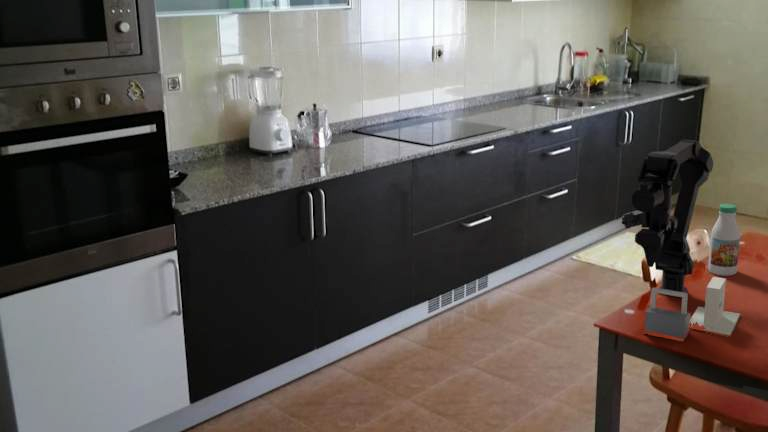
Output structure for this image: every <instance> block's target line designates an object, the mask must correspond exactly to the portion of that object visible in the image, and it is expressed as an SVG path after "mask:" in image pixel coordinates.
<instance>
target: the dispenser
mask: <svg viewBox="0 0 768 432" xmlns="http://www.w3.org/2000/svg"><path fill="white" fill-rule="evenodd" d="M650 291H651V292H650V302H649V303H650V304H649V305H650V306H649V307H648V308H647V309H646V311H645V320H644V321H645V322H644V331H645V330H646V331H651V332H655V333H660V334H665V335H669V336H673V337H677V338H681V339H684V337H685V335H686V334H687V332H688V331H689V332H690V329H689V323H690V320H691V313H690V312H687V310H688V297H689V296H688V295H689V294H688V292H678V291H672V290H666V289H660V287H652V288H651V290H650ZM657 294H661V295H666V296H672V297H679V298H681V311H676V310H672V309H671V310H670V309H665V308H661V307H656V305H657V304H656V302H657Z"/></svg>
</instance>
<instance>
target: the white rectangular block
mask: <svg viewBox="0 0 768 432" xmlns="http://www.w3.org/2000/svg"><path fill="white" fill-rule="evenodd" d="M726 285H727V278H723V277H717V276H712V278H711V279H710V281H709V283H708V284H707V286H706V289H705V303H704V308H705V312H704V324H703V325H705V326H710V327H717V326H718V324H719V322H720V320H721V318H722V316H723V311H724V307H725V306H724V305H725V304H724V303H725V294H726Z"/></svg>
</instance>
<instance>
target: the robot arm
mask: <svg viewBox="0 0 768 432" xmlns="http://www.w3.org/2000/svg"><path fill="white" fill-rule="evenodd" d="M713 167H714V159H713V157H712V154H711V152H710V151H708V150H707V149H705V148H704V147H702V145H701V143H700V142H699V141H697V140H692V139H691V140H690V139H689V140H688V139H682V140H678V142H677V143H676V144H674V145H673V146H671V147H669V148H668V149H666V150H664V151H651V152H649V153H648V154H647V156H645V157H644V160H643V163H642V166H641V169H640V173H639V175H638V178H637V182H638V183H640V185H639V189H636V190H635V191H634V192H633V193H632V196H631V205H632V207H634V208H635V210H634V211H631V212H625V214H623V215H622V217H621V224H622V225H624V227H625V229H631V228H633V227H634V228H635V227H637V226H641V227H640V228H641V229H640V230H638V232H636V234H635V235H634V243H636V244H637V245H638V246H640V247H641V248H642V249H643V252H644V257H645V260H646V264H647V267H648V268H653V266H654V267H655V270H657V271H662V275H661V276H662V277H661V286H660V287H659V288H660V289H666V290H672V291H678V292H685V293H687V290H688V288H687V287H685V278H686V276H688V275H692V274H693V269H694V261H693V259H692V257H691V255H690V254H691V253H690V252H691V248H690V245H689V242H688V239H687V238H688V233H689V230H690V225H691V222H692V217H693V213H694V209H695V206H696V201H697V199H698V198H697V197H698V193H699V190H700V188H701V186H703V185H704V184H705V182H706V181H708V180H709V179H708V178H709V175H710V173H712V171H713ZM677 175H678V176H679V180H680V187H679V191H678V195H677V199H676V203H675V205H674V206H675V207H674V209H673V205H672V204H671V203H672V190H673V189H672V188H673V186H672V185H673V184H672V183H674V181H675V179H676V176H677ZM672 210H673V215H671V212H672Z"/></svg>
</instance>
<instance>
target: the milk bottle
mask: <svg viewBox="0 0 768 432" xmlns="http://www.w3.org/2000/svg"><path fill="white" fill-rule="evenodd" d="M737 211H738V209H737V206H736V205H734V204H731V203H721V204H720V205H719V207H718V213H719V215H718V218H717V220H716V222H715V224H714V225H713V227H712V229H711V234H710V241H709V254H708V265H707V267H708V272H709V273H711V274H714V275H718V276H722V277H723V276H724V277H725V276H726V277H727V276H734V275H736V274H737V272H738V263H739V253H740V242H741V241H740V240H741V235H740V233H741V232H740V227H739V226H738V223H737V220H736V215H737Z"/></svg>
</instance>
